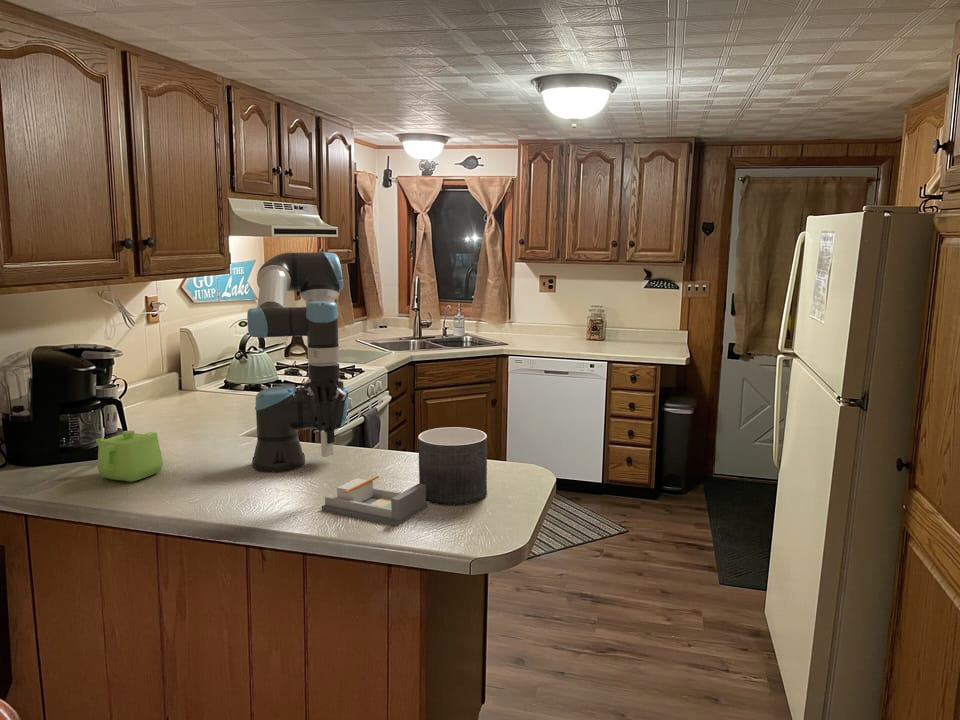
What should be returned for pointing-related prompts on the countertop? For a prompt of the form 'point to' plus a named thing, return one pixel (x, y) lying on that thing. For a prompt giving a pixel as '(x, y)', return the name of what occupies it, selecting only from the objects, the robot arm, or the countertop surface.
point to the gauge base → (382, 505)
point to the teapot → (129, 456)
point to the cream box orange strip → (356, 490)
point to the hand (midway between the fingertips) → (327, 455)
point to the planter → (453, 465)
